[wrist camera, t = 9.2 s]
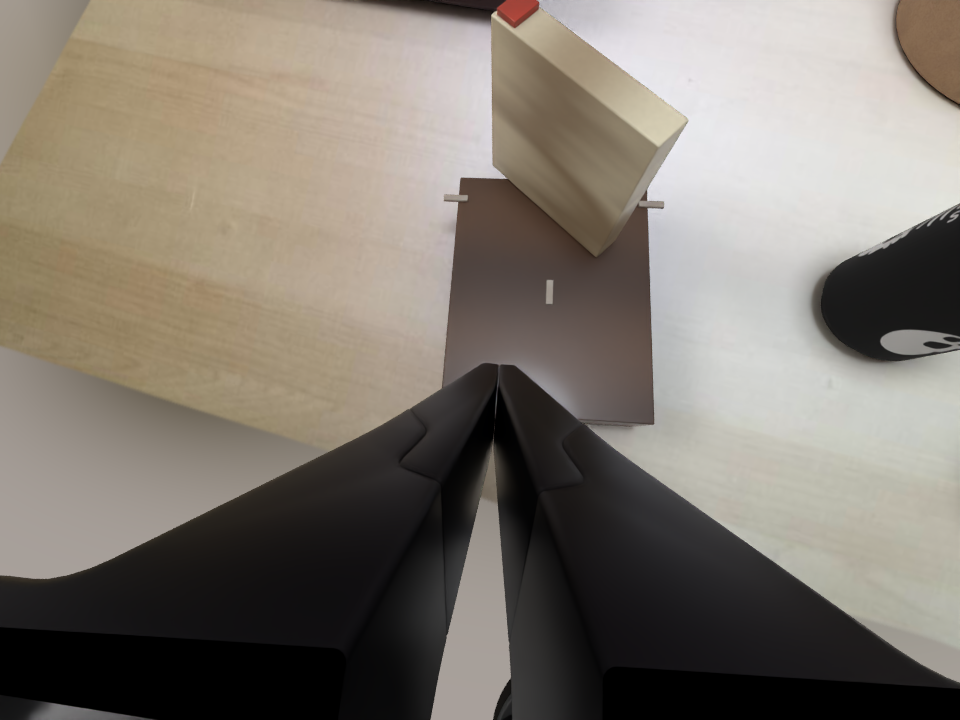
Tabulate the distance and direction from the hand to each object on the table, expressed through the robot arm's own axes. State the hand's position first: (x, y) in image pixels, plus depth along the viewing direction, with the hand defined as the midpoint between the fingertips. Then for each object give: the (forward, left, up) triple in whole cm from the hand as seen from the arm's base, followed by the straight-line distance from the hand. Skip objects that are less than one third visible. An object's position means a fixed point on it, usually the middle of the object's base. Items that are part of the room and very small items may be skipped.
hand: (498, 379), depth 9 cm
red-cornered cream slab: (+9, -9, -10) cm, 16 cm away
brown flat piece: (+6, -7, -13) cm, 16 cm away
